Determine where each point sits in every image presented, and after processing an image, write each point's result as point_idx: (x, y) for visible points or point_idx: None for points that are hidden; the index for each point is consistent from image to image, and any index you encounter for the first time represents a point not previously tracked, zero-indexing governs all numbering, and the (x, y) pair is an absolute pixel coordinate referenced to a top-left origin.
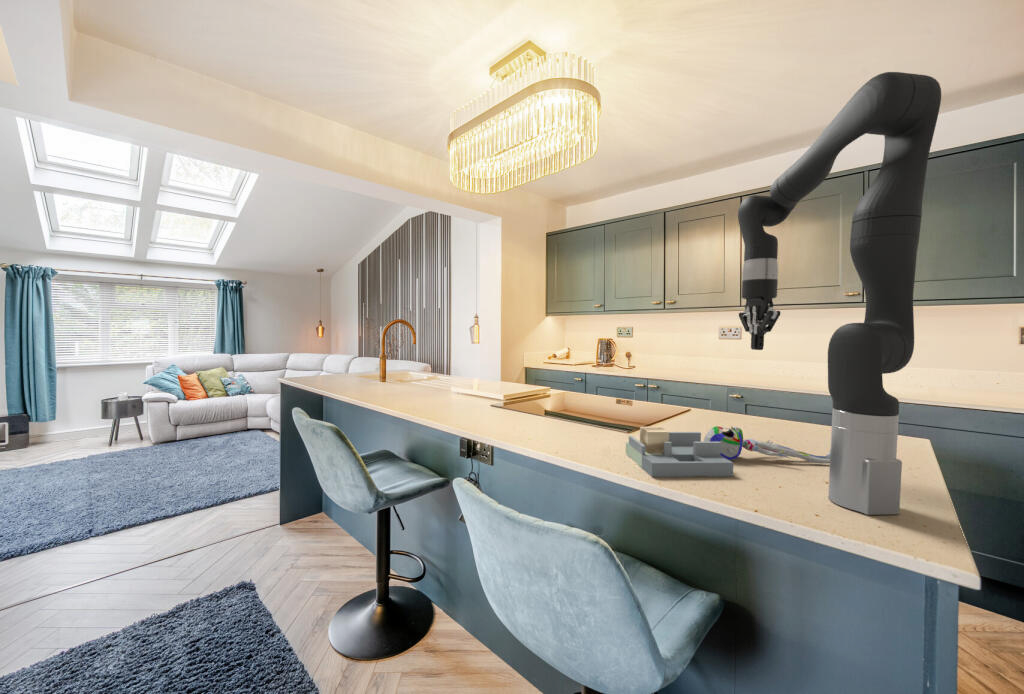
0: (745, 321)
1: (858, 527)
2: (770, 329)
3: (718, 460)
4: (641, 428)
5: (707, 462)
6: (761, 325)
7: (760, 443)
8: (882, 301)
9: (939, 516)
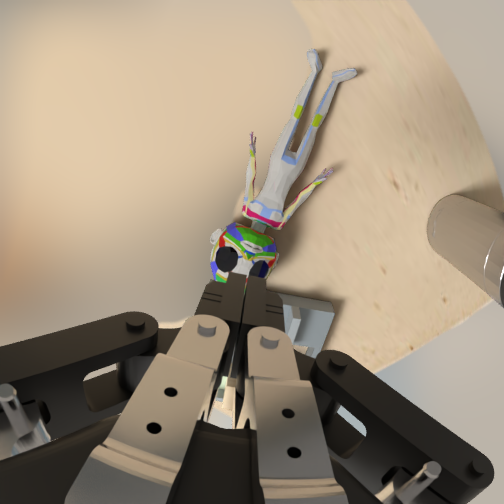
0: (87, 423)
1: (471, 285)
2: (359, 374)
3: (318, 326)
4: (227, 409)
5: (320, 346)
6: (328, 444)
7: (282, 202)
8: None
9: (491, 173)
